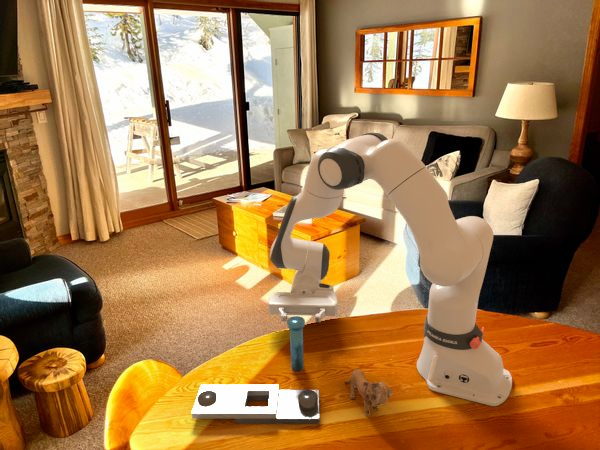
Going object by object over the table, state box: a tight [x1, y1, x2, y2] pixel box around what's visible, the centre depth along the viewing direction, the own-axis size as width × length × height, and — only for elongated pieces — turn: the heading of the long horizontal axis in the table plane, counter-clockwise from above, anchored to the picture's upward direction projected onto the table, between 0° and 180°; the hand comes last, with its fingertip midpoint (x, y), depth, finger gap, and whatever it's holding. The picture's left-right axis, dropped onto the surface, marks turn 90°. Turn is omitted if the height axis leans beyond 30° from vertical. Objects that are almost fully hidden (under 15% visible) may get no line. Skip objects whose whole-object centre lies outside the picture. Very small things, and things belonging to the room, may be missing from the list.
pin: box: [286, 315, 306, 372], centre depth 117 cm, size 4×4×14 cm
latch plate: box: [191, 384, 320, 425], centre depth 105 cm, size 28×9×4 cm, turn 88°
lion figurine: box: [344, 368, 394, 417], centre depth 105 cm, size 15×5×9 cm, turn 33°
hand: (300, 319), depth 126 cm, fingers open, 8 cm apart
